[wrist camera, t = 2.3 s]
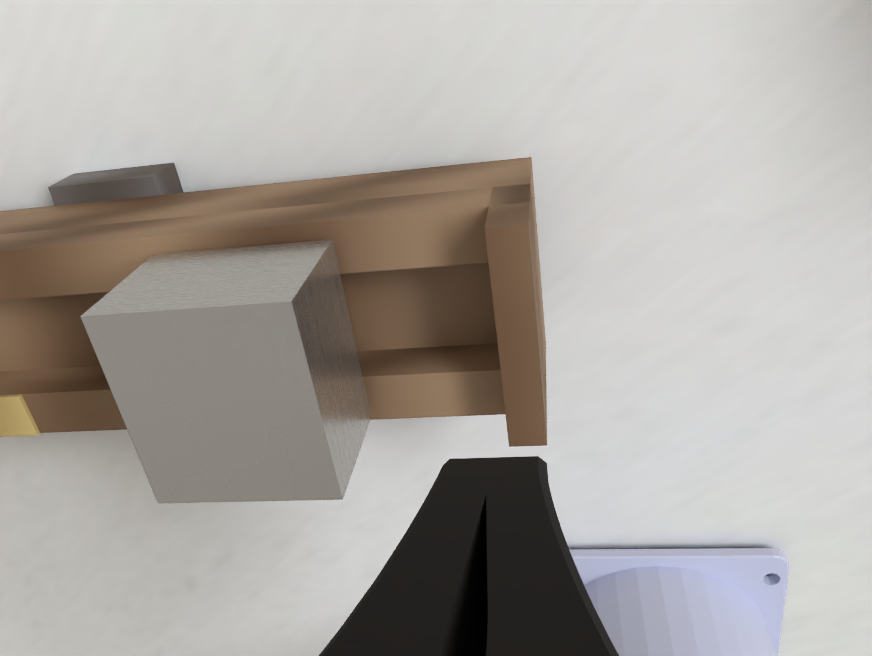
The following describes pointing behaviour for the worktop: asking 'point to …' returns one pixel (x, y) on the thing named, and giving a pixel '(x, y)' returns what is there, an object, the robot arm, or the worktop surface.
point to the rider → (236, 372)
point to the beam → (291, 223)
